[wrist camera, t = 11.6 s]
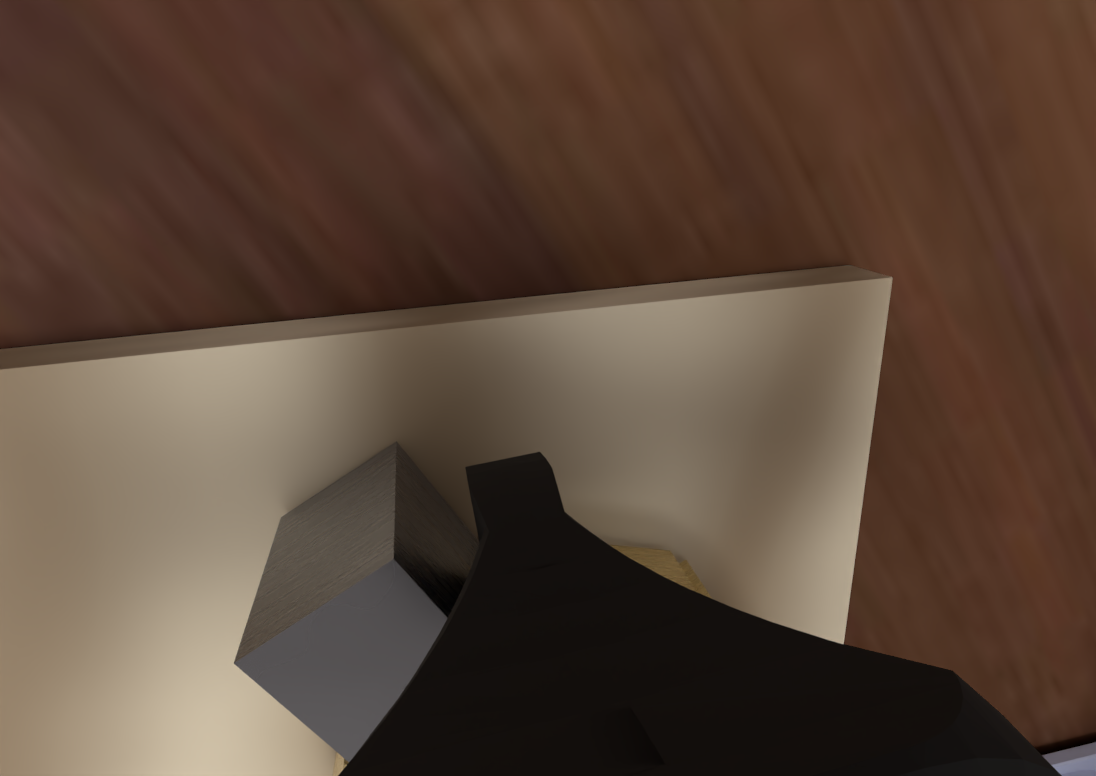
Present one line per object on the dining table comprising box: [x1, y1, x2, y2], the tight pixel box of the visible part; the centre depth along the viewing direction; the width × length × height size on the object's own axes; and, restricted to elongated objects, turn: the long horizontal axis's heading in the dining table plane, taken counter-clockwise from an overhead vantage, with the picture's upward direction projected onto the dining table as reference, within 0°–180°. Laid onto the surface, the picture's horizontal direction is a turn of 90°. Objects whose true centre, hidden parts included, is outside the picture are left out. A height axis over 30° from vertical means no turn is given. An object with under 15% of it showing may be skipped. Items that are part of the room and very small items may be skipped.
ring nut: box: [234, 441, 712, 776], centre depth 11 cm, size 8×10×3 cm
